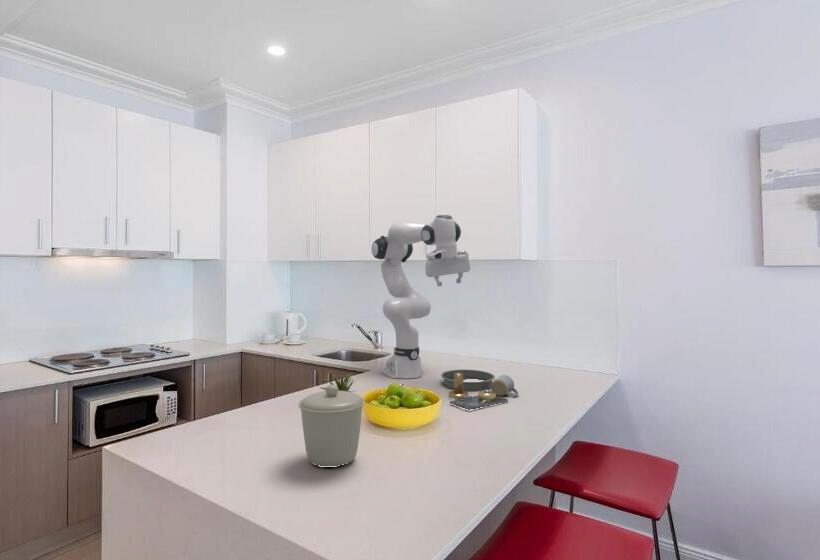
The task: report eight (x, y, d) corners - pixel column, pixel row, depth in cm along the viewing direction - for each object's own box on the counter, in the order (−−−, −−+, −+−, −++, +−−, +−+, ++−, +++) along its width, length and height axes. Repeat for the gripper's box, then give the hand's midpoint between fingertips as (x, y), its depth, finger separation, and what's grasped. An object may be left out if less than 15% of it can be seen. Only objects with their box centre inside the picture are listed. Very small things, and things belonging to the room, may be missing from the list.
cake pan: (438, 390, 203) (438, 380, 202) (443, 377, 227) (444, 368, 227) (495, 393, 198) (495, 382, 198) (495, 379, 222) (495, 370, 222)
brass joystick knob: (444, 397, 192) (444, 373, 191) (459, 394, 196) (459, 370, 196) (457, 401, 185) (457, 376, 185) (472, 398, 190) (472, 374, 189)
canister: (335, 443, 141) (334, 374, 140) (378, 458, 129) (378, 383, 129) (285, 462, 127) (284, 386, 126) (328, 481, 115) (328, 397, 115)
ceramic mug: (489, 395, 194) (490, 377, 194) (497, 391, 201) (497, 373, 201) (514, 399, 188) (514, 381, 188) (521, 395, 195) (521, 377, 195)
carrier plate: (449, 404, 181) (449, 392, 181) (487, 396, 193) (487, 385, 193) (469, 412, 171) (469, 399, 171) (508, 402, 184) (508, 391, 183)
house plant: (333, 409, 174) (332, 366, 174) (367, 413, 170) (366, 369, 170) (314, 421, 161) (313, 374, 160) (350, 425, 156) (350, 377, 156)
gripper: (464, 249, 206) (466, 280, 208) (422, 255, 198) (425, 287, 200) (471, 250, 200) (473, 282, 202) (428, 256, 192) (431, 288, 194)
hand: (449, 284), depth 201 cm, fingers open, 8 cm apart
